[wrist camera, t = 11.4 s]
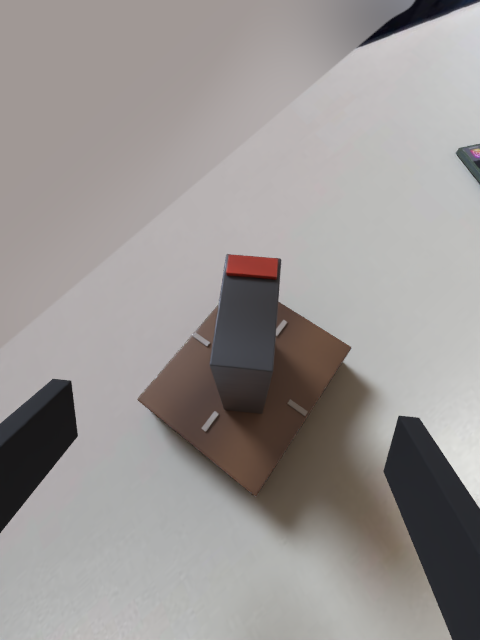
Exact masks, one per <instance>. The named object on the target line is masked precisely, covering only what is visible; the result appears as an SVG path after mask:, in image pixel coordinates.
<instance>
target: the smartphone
mask: <svg viewBox="0 0 480 640" xmlns="http://www.w3.org/2000/svg"><path fill="white" fill-rule="evenodd" d="M456 154H457V155H458V156H459V158H460V159H461V160H462V161H463V163H464V164H465V165H466V166H467V168H468V169H469V170H470V171H471V173H472V174H473V175H474V176H475V178H476V179H477V180H478V181H479V183H480V144H477V145H472V146H467V147H462V148H459V149H458V151H457V152H456Z"/></svg>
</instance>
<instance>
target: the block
mask: <svg viewBox="0 0 480 640" xmlns="http://www.w3.org/2000/svg"><path fill="white" fill-rule="evenodd" d="M280 270H281V259H279V258H266V257H254V256H242V255H230V254H227V255H226V260H225V266H224V273H223V279H222V286H221V292H220V299H219V305H218V312H217V318H216V325H215V331H214V338H213V344H212V351H211V357H210V368H211V371H212V374H213V377H214V380H215V383H216V386H217V389H218V392H219V395H220V399H221V402H222V405H223V408H224V410H231V411H240V412H249V413H258V414H262V413H263V409H264V405H265V402H266V398H267V394H268V390H269V386H270V382H271V378H272V374H273V367H274V353H275V339H276V325H277V311H278V298H279V284H280Z"/></svg>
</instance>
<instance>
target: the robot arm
mask: <svg viewBox="0 0 480 640" xmlns="http://www.w3.org/2000/svg"><path fill="white" fill-rule="evenodd" d="M77 436H78V434H77V426H76V417H75V409H74V400H73V392H72V383H71V381H68V380H58V379H52V380H51V381H50V382H49V383H48V384H47V385H45V386H44V387H43V388H42V389H41V390H39V391H38V392H37V393H36V394H35V395H34V396H32V397H31V398H30V399H29V400H28V401H26V402H25V403H24V404H23V405H22V406H21V407H19V408H18V409H17V410H16V411H15V412H14V413H12V414H11V415H10V416H9V417H8V418H6V419H5V420H4V421H3V422H2V423H1V424H0V533H1V531H2V530H3V529H4V528H5V526H6V525H7V524H8V523H9V521H10V520H11V519H12V518H13V516H14V515H15V514H16V513H17V511H18V510H19V509H20V508H21V506H22V505H23V504H24V503H25V501H26V500H27V499H28V498H29V496H30V495H31V494H32V493H33V491H34V490H35V489H36V488H37V486H38V485H39V484H40V483H41V481H42V480H43V479H44V478H45V476H46V475H47V474H48V473H49V471H50V470H51V469H52V468H53V466H54V465H55V464H56V463H57V461H58V460H59V459H60V458H61V456H62V455H63V454H64V453H65V451H66V450H67V449H68V448H69V446H70V445H71V444H72V443H73V441H74V440H75V439H76V438H77ZM384 474H385V476H386V479H387V481H388V483H389V486H390V488H391V491H392V493H393V496H394V498H395V500H396V503H397V505H398V508H399V510H400V513H401V515H402V518H403V520H404V522H405V525H406V527H407V530H408V532H409V535H410V537H411V540H412V542H413V544H414V547H415V549H416V552H417V554H418V557H419V559H420V562H421V564H422V566H423V569H424V571H425V574H426V576H427V579H428V581H429V584H430V586H431V588H432V591H433V593H434V596H435V598H436V601H437V603H438V606H439V608H440V610H441V613H442V615H443V618H444V620H445V623H446V625H447V627H448V630H449V632H450V635H451V637H452V640H480V509H479V507H478V506H477V504H476V503H475V501H474V500H473V498H472V497H471V495H470V494H469V492H468V491H467V489H466V488H465V486H464V485H463V483H462V482H461V480H460V479H459V477H458V476H457V474H456V473H455V471H454V470H453V468H452V467H451V465H450V464H449V462H448V461H447V459H446V458H445V456H444V455H443V453H442V452H441V450H440V449H439V447H438V446H437V444H436V443H435V441H434V440H433V438H432V437H431V435H430V434H429V432H428V431H427V429H426V428H425V426H424V425H423V423H422V422H421V420H420V419H419V418H416V417H406V416H399V417H398V420H397V424H396V428H395V431H394V435H393V439H392V442H391V446H390V450H389V453H388V457H387V461H386V464H385V468H384Z"/></svg>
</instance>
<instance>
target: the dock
mask: <svg viewBox="0 0 480 640" xmlns="http://www.w3.org/2000/svg"><path fill="white" fill-rule="evenodd" d="M218 305H219V304H218ZM218 305H217V307H216V308H215V309H214V310H213V311H212V312H211V314H210V315H209V316H208V317H207V318H206V319H205V321H204V322H203V323H202V324H201V325H200V326H199V328H198V329H197V330H196V331H195V332H194V333H193V335H192V336H191V337H190V338H189V339H188V340H187V342H186V343H185V344H184V345H183V346H182V347H181V349H180V350H179V351H178V352H177V353H176V354H175V356H174V357H173V358H172V359H171V360H170V361H169V363H168V364H167V365H166V366H165V367H164V368H163V370H162V371H161V372H160V373H159V374H158V375H157V377H156V378H155V379H154V380H153V381H152V382H151V384H150V385H149V386H148V387H147V388H146V389H145V391H144V392H143V393H142V394H141V395H140V396H139V398H138V399H137V400H138V401H139V402H140V403H142V404H143V405H144V406H145V407H147V408H148V409H149V410H150V411H151V412H153V413H154V414H155V415H156V416H157V417H159V418H160V419H161V420H162V421H164V422H165V423H166V424H167V425H168V426H170V427H171V428H172V429H173V430H175V431H176V432H177V433H178V434H179V435H181V436H182V437H183V438H184V439H185V440H187V441H188V442H189V443H190V444H192V445H193V446H194V447H195V448H196V449H198V450H199V451H200V452H201V453H203V454H204V455H205V456H206V457H207V458H209V459H210V460H211V461H212V462H213V463H215V464H216V465H217V466H218V467H220V468H221V469H222V470H223V471H224V472H226V473H227V474H228V475H229V476H231V477H232V478H233V479H234V480H235V481H237V482H238V483H239V484H240V485H241V486H243V487H244V488H245V489H246V490H248V491H249V492H250V493H251V494H252V495H254V496H257V494H258V493H259V491H260V490H261V488H262V487H263V485H264V484H265V482H266V480H267V479H268V477H269V476H270V474H271V473H272V471H273V470H274V468H275V466H276V465H277V463H278V462H279V460H280V459H281V457H282V455H283V454H284V452H285V451H286V449H287V448H288V446H289V445H290V443H291V441H292V440H293V438H294V437H295V435H296V434H297V432H298V431H299V429H300V427H301V426H302V424H303V423H304V421H305V420H306V418H307V417H308V415H309V413H310V412H311V410H312V409H313V407H314V406H315V404H316V402H317V401H318V399H319V398H320V396H321V395H322V393H323V392H324V390H325V388H326V387H327V385H328V384H329V382H330V381H331V379H332V378H333V376H334V374H335V373H336V371H337V370H338V368H339V367H340V365H341V364H342V362H343V360H344V359H345V357H346V356H347V354H348V353H349V351H350V349H351V347H350V346H349V345H347V344H345V343H344V342H342V341H341V340H339V339H337V338H336V337H334V336H333V335H331V334H329V333H328V332H326V331H325V330H323V329H321V328H320V327H318V326H317V325H315V324H313V323H312V322H310V321H309V320H307V319H305V318H304V317H302V316H301V315H299V314H297V313H296V312H294V311H293V310H291V309H289V308H288V307H286V306H285V305H283V304H281V303H280V302H278V311H277V325H276V339H275V353H274V367H273V374H272V378H271V382H270V386H269V390H268V394H267V398H266V402H265V405H264V409H263V413H262V414H258V413H249V412H240V411H231V410H224V408H223V405H222V402H221V399H220V395H219V392H218V389H217V386H216V383H215V380H214V377H213V374H212V371H211V368H210V357H211V351H212V344H213V338H214V331H215V325H216V318H217V312H218Z"/></svg>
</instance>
